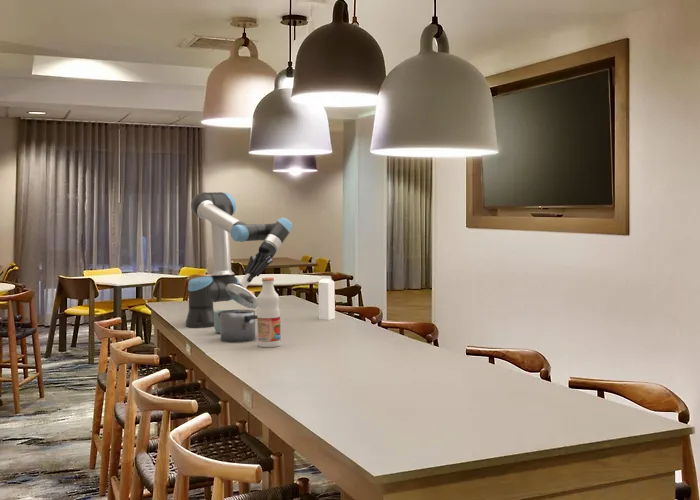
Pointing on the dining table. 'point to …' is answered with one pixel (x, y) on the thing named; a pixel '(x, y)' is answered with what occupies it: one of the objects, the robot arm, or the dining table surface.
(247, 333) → the cooker pot
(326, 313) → the milk
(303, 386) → the dining table surface
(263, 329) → the fruit juice
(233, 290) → the lid
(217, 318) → the cup
